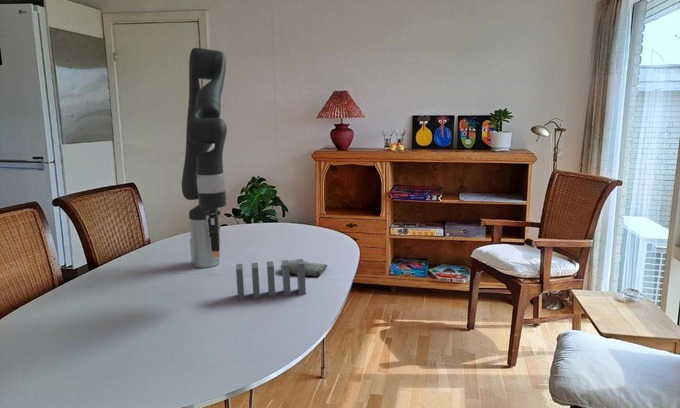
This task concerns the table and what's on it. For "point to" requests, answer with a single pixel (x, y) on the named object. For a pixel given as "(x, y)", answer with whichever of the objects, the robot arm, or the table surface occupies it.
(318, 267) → the stone
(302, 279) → the domino
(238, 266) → the domino
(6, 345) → the table surface
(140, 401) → the table surface
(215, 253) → the domino
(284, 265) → the domino
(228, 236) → the table surface
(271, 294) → the domino
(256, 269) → the domino
